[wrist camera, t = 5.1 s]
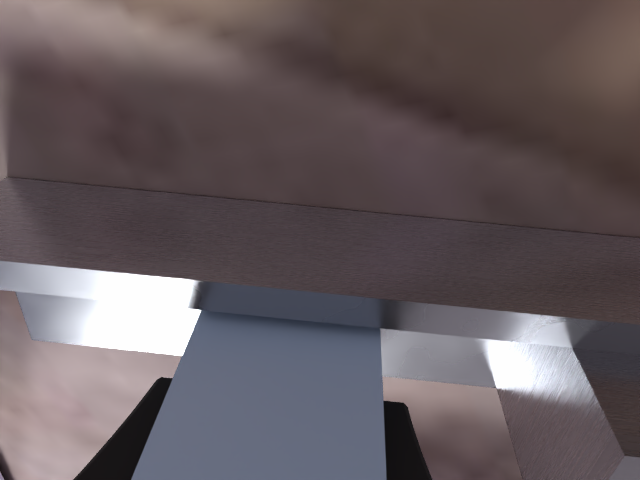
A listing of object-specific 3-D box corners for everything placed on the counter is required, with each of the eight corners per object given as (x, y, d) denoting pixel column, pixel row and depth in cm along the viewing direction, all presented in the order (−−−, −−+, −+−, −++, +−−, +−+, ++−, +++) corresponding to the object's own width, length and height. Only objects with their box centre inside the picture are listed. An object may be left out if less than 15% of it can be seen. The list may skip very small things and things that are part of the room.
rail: (49, 317, 16) (-102, 511, 11) (5, 177, 13) (-224, 345, 8) (614, 375, 16) (739, 604, 10) (690, 243, 13) (913, 464, 8)
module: (218, 395, 14) (153, 611, 10) (211, 284, 12) (123, 498, 7) (359, 410, 14) (358, 635, 10) (379, 301, 12) (388, 528, 7)
